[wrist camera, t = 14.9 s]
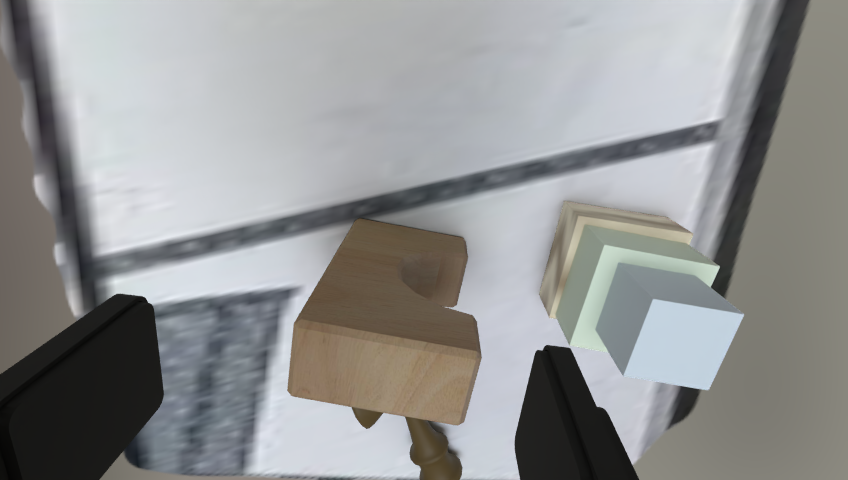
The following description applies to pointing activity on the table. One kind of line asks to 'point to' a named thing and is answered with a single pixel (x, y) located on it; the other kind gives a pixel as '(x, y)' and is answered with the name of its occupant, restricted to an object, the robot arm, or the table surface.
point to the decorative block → (389, 327)
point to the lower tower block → (603, 217)
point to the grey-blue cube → (666, 326)
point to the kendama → (422, 447)
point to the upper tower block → (597, 271)
